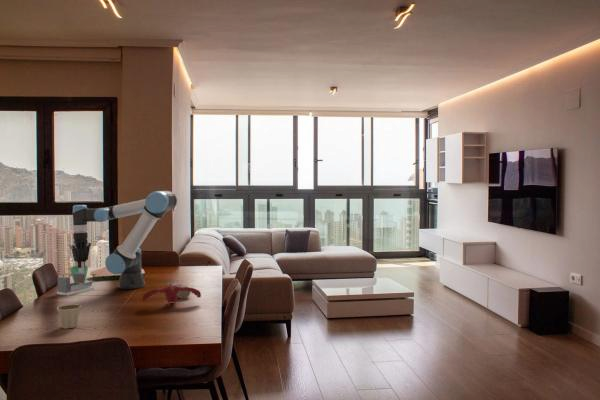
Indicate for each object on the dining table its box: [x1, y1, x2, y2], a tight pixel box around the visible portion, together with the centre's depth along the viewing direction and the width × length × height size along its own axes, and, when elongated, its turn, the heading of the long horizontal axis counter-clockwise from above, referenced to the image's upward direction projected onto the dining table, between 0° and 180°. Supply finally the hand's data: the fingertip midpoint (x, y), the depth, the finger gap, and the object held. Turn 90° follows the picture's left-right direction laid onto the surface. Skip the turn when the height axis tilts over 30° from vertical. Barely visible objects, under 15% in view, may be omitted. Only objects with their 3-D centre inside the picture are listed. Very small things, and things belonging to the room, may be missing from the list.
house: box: [89, 266, 146, 281], centre depth 331 cm, size 23×33×8 cm
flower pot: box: [56, 304, 82, 329], centre depth 219 cm, size 9×9×9 cm
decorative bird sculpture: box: [142, 286, 202, 307], centre depth 254 cm, size 28×9×15 cm
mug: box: [69, 265, 89, 281], centre depth 310 cm, size 15×10×10 cm
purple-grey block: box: [70, 273, 86, 286], centre depth 287 cm, size 5×8×8 cm, turn 63°
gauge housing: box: [56, 276, 95, 297], centre depth 286 cm, size 18×8×10 cm, turn 153°
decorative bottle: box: [165, 281, 191, 300], centre depth 279 cm, size 26×8×7 cm, turn 34°
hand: (81, 273), depth 289 cm, fingers closed
